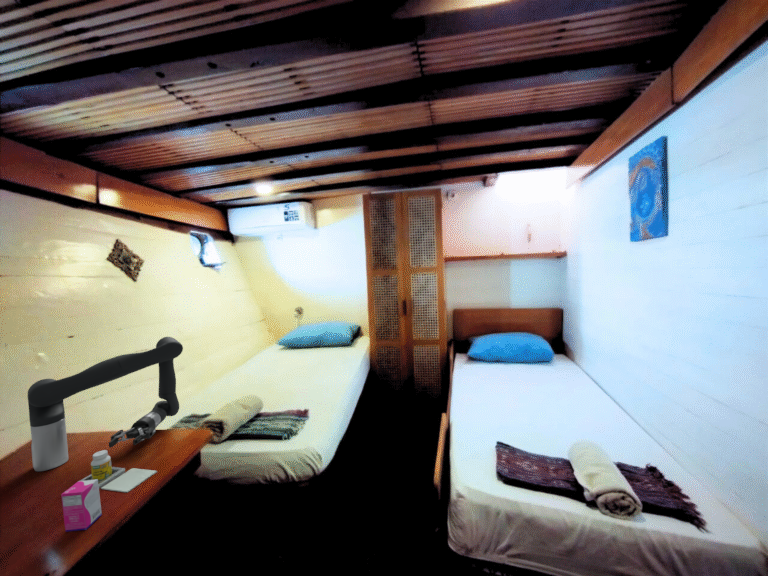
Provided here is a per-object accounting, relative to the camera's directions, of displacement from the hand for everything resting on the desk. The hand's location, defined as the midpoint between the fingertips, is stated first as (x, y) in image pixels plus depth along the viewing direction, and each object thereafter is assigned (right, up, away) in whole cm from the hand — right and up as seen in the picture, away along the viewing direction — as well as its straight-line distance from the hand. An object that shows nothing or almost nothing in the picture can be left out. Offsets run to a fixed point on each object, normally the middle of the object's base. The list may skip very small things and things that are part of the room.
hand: (122, 444), depth 123 cm
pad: (+13, -7, -12) cm, 19 cm away
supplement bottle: (+2, -7, -11) cm, 13 cm away
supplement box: (+15, -8, -31) cm, 35 cm away
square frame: (+2, -7, -11) cm, 13 cm away
